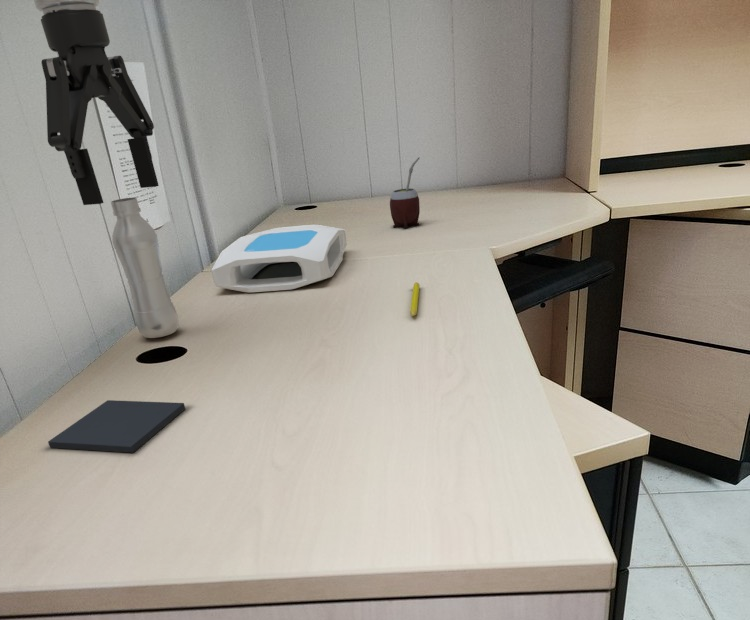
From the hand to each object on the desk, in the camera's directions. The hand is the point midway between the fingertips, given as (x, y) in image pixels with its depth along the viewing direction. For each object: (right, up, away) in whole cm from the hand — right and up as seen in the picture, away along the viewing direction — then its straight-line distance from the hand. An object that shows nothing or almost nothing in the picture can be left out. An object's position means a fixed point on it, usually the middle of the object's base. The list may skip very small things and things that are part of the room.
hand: (123, 195), depth 94 cm
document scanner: (+18, +2, +39) cm, 43 cm away
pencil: (+42, -12, +12) cm, 46 cm away
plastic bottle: (+2, -17, +11) cm, 21 cm away
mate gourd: (+44, +23, +66) cm, 82 cm away
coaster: (+6, -35, -18) cm, 40 cm away
